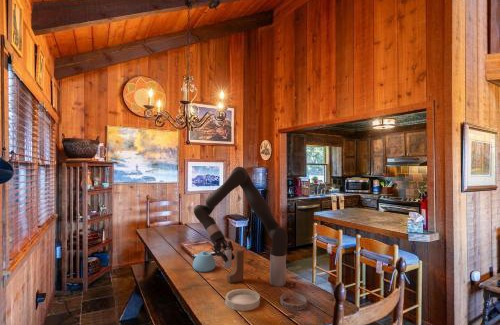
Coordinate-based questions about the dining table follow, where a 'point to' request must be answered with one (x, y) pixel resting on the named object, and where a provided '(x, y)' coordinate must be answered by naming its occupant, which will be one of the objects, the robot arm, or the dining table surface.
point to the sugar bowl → (204, 262)
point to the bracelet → (292, 306)
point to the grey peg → (229, 255)
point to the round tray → (242, 299)
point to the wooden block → (237, 267)
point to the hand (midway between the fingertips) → (230, 260)
